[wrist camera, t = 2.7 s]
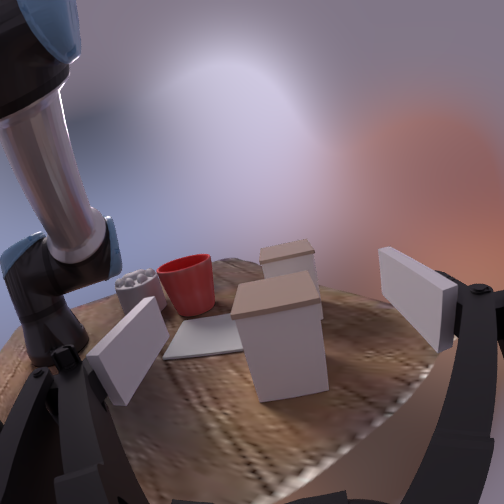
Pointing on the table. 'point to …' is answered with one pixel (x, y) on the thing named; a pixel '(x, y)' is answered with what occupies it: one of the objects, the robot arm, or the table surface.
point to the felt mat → (205, 338)
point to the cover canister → (282, 335)
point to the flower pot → (189, 284)
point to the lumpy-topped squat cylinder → (139, 289)
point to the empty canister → (290, 261)
